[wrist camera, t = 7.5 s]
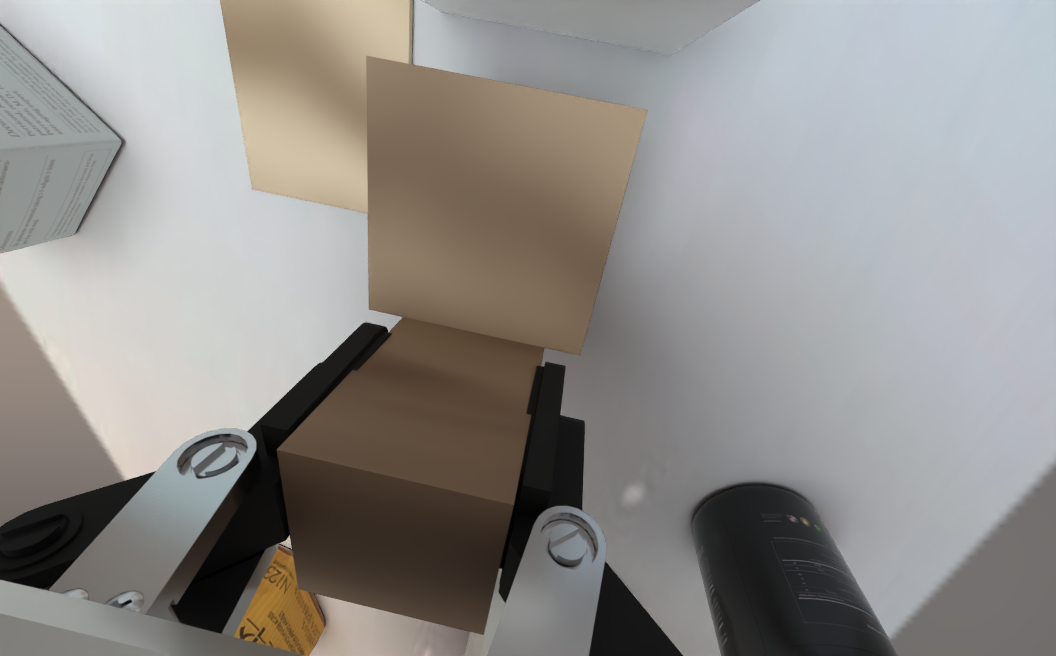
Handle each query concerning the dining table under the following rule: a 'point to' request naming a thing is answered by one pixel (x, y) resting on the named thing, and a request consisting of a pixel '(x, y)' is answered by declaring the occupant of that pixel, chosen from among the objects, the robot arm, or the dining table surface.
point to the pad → (310, 90)
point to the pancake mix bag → (282, 610)
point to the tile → (607, 18)
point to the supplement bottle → (780, 579)
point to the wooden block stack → (453, 334)
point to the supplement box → (45, 152)
